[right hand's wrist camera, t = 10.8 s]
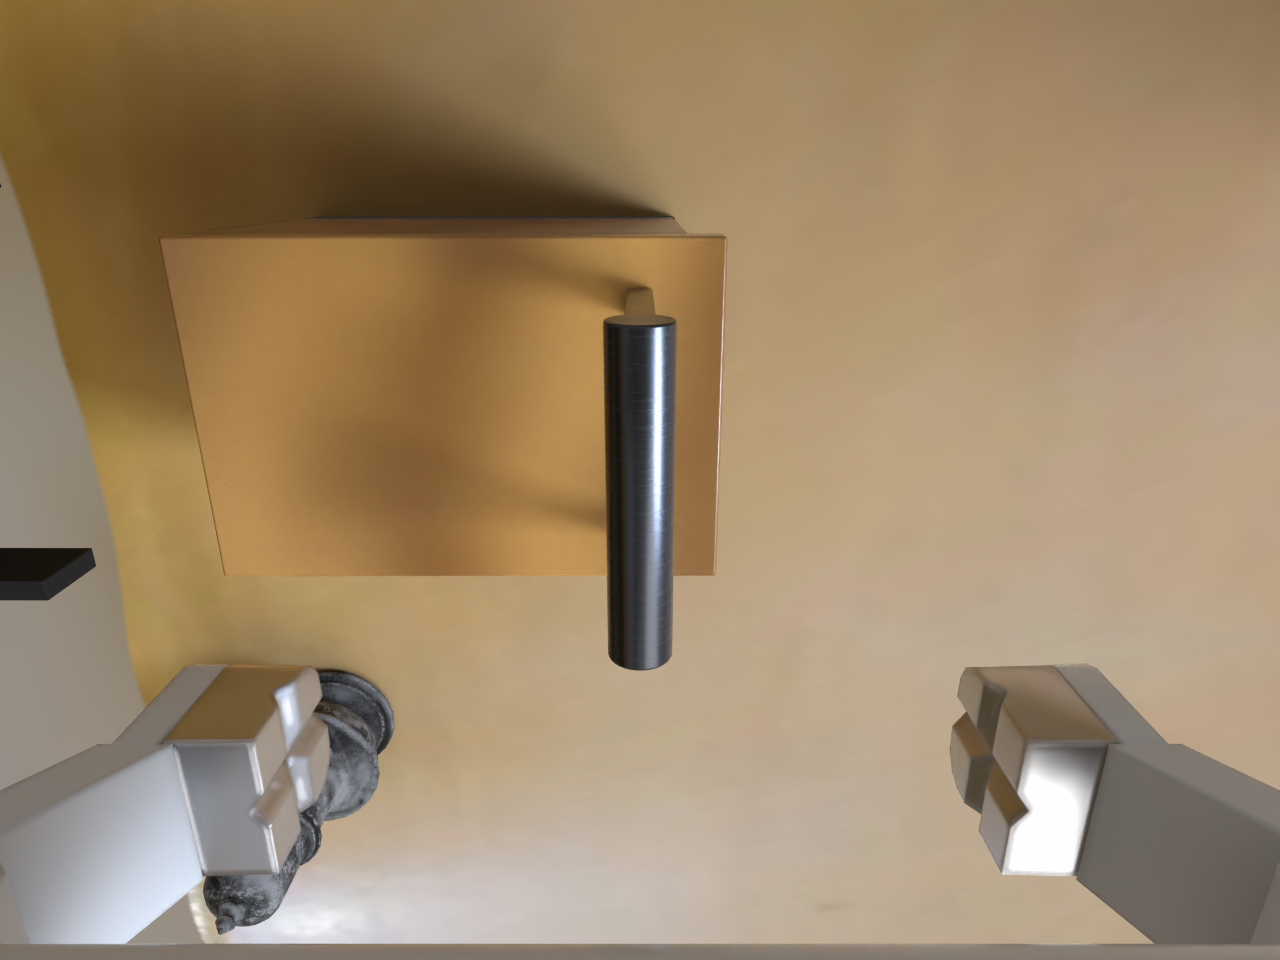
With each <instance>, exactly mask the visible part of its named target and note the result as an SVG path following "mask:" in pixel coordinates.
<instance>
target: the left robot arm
mask: <svg viewBox="0 0 1280 960" xmlns="http://www.w3.org/2000/svg"><path fill="white" fill-rule="evenodd" d="M0 187H1V185H0ZM95 566H96V564H95V560H94V556H93V552H92V548H0V600H49V599H51V598H52V597H54V596H55V595H56V594H58V593H59V592H61V591H62V590H63V589H65V588H66V587H68V586H69V585H70V584H72V583H73V582H74V581H76V580H77V579H79V578H80V577H82V576H83V575H84V574H86V573H87V572H88V571H90V570H91V569H93V568H94V567H95Z"/></svg>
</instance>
